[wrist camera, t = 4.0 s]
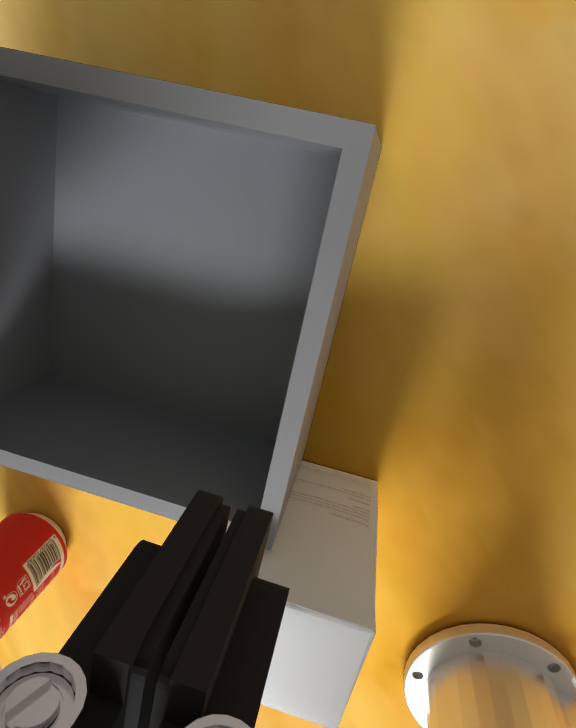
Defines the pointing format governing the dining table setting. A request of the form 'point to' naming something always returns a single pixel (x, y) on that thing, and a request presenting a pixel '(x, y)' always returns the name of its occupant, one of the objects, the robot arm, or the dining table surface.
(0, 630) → the beverage can
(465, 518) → the dining table surface
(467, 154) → the dining table surface
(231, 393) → the box
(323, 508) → the supplement box
